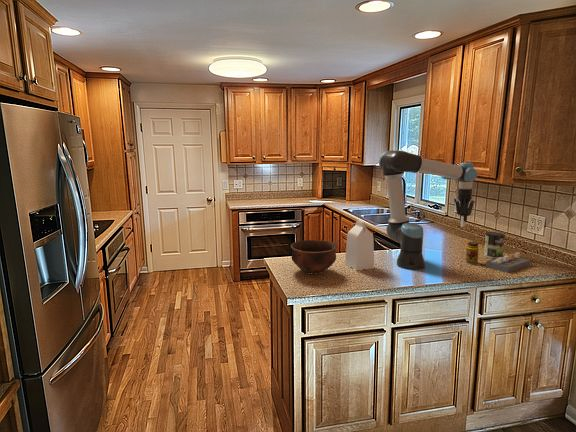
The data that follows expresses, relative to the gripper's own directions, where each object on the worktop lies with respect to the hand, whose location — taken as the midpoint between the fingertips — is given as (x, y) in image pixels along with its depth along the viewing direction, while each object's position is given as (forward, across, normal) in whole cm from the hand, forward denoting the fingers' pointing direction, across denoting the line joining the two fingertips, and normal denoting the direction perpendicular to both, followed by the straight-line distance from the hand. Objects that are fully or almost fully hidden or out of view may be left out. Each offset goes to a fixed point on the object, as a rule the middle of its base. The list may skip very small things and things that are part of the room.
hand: (462, 226), depth 230 cm
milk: (+17, +17, +69) cm, 74 cm away
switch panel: (+18, -29, 0) cm, 34 cm away
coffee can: (+18, -14, -12) cm, 25 cm away
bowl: (+17, +24, +96) cm, 101 cm away
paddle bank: (+15, -29, 0) cm, 32 cm away
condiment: (+18, -14, +11) cm, 25 cm away
